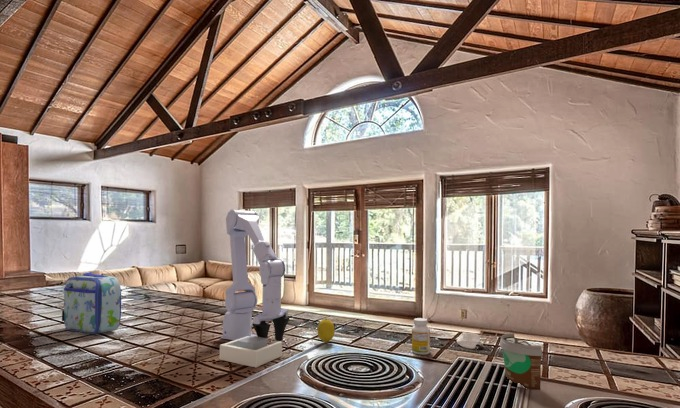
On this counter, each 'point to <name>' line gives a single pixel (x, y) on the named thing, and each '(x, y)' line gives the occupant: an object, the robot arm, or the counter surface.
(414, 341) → the supplement bottle
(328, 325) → the lemon
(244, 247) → the robot arm
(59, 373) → the counter surface
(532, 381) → the food container
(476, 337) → the whipped cream
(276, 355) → the tray
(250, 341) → the light grey cube
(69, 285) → the lunch box
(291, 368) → the counter surface
